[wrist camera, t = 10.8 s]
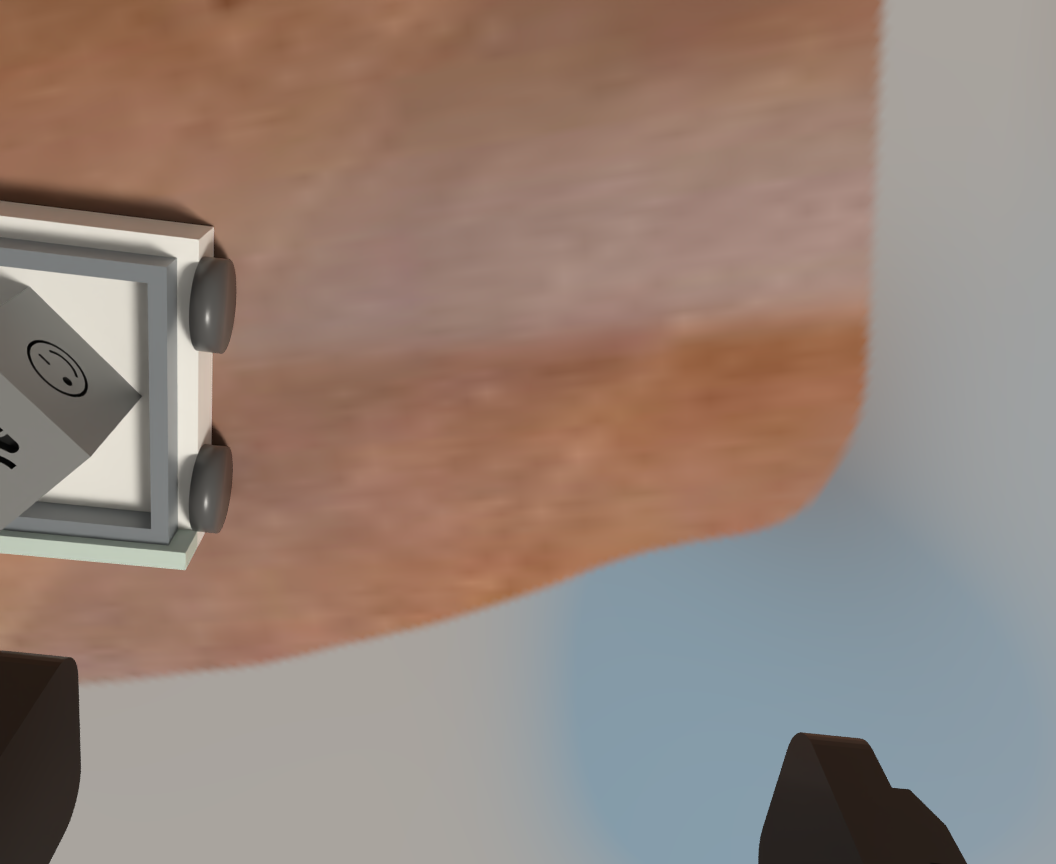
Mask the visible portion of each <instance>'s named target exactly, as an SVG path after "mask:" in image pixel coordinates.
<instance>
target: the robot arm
mask: <svg viewBox="0 0 1056 864" xmlns="http://www.w3.org/2000/svg"><path fill="white" fill-rule="evenodd" d="M79 721H80V720H79V686H78V669H77V665H76V662H75V660H74V659H73V658H71V657H62V656H52V655H42V654H32V653H22V652H12V651H0V864H49V863H50V861H51V859H52V857H53V855H54V853H55V851H56V849H57V847H58V845H59V843H60V841H61V839H62V837H63V835H64V833H65V831H66V829H67V827H68V824H69V822H70V819H71V816H72V813H73V810H74V807H75V803H76V799H77V795H78V789H79V783H80V774H81V756H80V722H79ZM758 858H759V859H758V860H759V861H758V862H759V863H758V864H967V863H966V861H965V859H964V857H963V856H962V854H961V852H960V850H959V848H958V846H957V845H956V843H955V841H954V839H953V838H952V836H951V834H950V832H949V830H948V828H947V827H946V825H944V823H943V822H942V821H941V820H940V819H939V818H938V817H937V816H936V815H935V814H934V813H933V812H932V811H931V810H930V809H929V808H928V807H926V805H925V804H923V803H922V801H921V800H920V799H919V798H917V797H916V796H915V795H914V794H913V793H912V791H910V790H909V789H898V788H892V787H891V785H890V783H889V781H888V779H887V777H886V775H885V773H884V772H883V769H882V767H881V766H880V763H879V762H878V760H877V758H876V756H875V754H874V752H873V750H872V748H871V746H870V745H869V744H868V743H867V742H866V741H865V740H863V739H860V738H850V737H841V736H830V735H820V734H811V733H801V732H800V733H797V734H796V735H795V736H794V737H793V738H792V740H791V742H790V744H789V746H788V749H787V752H786V755H785V759H784V762H783V765H782V768H781V772H780V775H779V778H778V781H777V784H776V787H775V791H774V794H773V797H772V800H771V803H770V807H769V810H768V813H767V816H766V820H765V823H764V826H763V829H762V833H761V837H760V844H759V856H758Z"/></svg>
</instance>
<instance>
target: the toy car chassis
mask: <svg viewBox="0 0 1056 864" xmlns="http://www.w3.org/2000/svg"><path fill="white" fill-rule="evenodd" d="M28 287H31V288H32V289H33V290H34V291H35V292H36V293H37V294H38V295H39V296H40V297H41V298H42V299H43V300H44V301H45V302H46V303H47V304H48V305H49V306H50V307H51V308H52V309H53V310H54V311H55V312H56V313H57V314H58V315H59V316H60V317H61V318H62V319H63V320H64V321H65V322H66V323H68V324H69V325H70V326H71V327H72V328H73V329H74V330H75V331H76V332H77V333H78V334H79V335H80V336H81V337H82V338H83V339H84V340H85V341H86V342H87V343H88V344H89V345H90V346H91V347H92V348H93V349H94V350H95V351H96V352H97V353H98V354H99V355H100V356H101V357H102V358H103V359H104V360H105V361H106V362H108V363H109V364H110V365H111V366H112V367H113V368H114V369H115V370H116V371H117V372H118V373H119V374H120V375H121V376H122V377H123V378H124V379H125V380H126V381H127V382H128V383H129V384H130V385H131V386H132V387H133V388H134V389H135V390H136V391H137V392H138V393H139V394H140V395H141V396H142V397H141V398H140V400H139V401H138V402H137V403H136V404H135V405H134V407H133V408H132V409H131V410H130V411H129V412H128V414H127V415H126V416H125V417H124V418H123V419H122V421H121V422H120V423H119V424H118V425H117V427H116V428H115V429H114V430H113V431H112V432H111V434H110V435H109V436H108V437H107V438H106V439H105V441H104V442H103V443H102V444H101V445H100V446H99V448H98V449H97V450H96V451H95V452H94V454H93V455H92V456H91V457H90V458H89V459H87V460H86V461H85V462H84V463H83V464H81V465H80V466H79V467H78V468H77V469H75V470H74V471H73V472H72V473H70V474H69V475H68V476H67V477H66V478H64V479H63V480H62V481H61V482H60V483H58V484H57V485H56V486H55V487H53V488H52V489H51V490H50V491H49V492H47V493H46V494H45V495H44V496H43V497H41V498H40V499H39V500H38V501H36V502H35V503H34V504H33V505H32V506H30V507H29V508H28V509H27V510H26V511H24V512H23V513H22V514H21V515H19V516H18V517H17V518H16V519H15V520H13V521H12V522H11V523H10V524H9V525H7V526H6V527H5V528H4V529H2V530H1V531H0V553H6V554H17V555H28V556H38V557H49V558H60V559H71V560H82V561H93V562H104V563H115V564H125V565H136V566H147V567H158V568H169V569H180V570H186V568H187V566H188V564H189V562H190V561H191V559H192V557H193V555H194V553H195V551H196V549H197V547H198V545H199V543H200V541H201V539H202V537H203V535H204V533H205V532H208V533H219V532H220V531H221V529H222V527H223V524H224V522H225V519H226V515H227V511H228V506H229V501H230V495H231V487H232V473H233V463H232V453H231V450H230V448H229V447H228V446H218V445H212V357H213V353H220V354H222V353H224V352H225V350H226V348H227V346H228V344H229V341H230V337H231V333H232V329H233V323H234V317H235V307H236V275H235V269H234V265H233V263H232V261H231V260H230V259H223V258H214V227H212V226H204V225H196V224H187V223H179V222H171V221H163V220H155V219H146V218H138V217H130V216H122V215H114V214H106V213H97V212H89V211H81V210H73V209H65V208H56V207H48V206H40V205H32V204H24V203H15V202H7V201H0V305H2V304H3V303H5V302H6V301H8V300H10V299H11V298H13V297H14V296H16V295H17V294H19V293H21V292H22V291H24V290H25V289H27V288H28Z"/></svg>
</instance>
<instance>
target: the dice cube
mask: <svg viewBox="0 0 1056 864" xmlns="http://www.w3.org/2000/svg"><path fill="white" fill-rule="evenodd" d="M141 397H142V396H141V395H140V394H139V393H138V392H137V391H136V390H135V389H134V388H133V387H132V386H131V385H130V384H129V383H128V382H127V381H126V380H125V379H124V378H123V377H122V376H121V375H120V374H119V373H118V372H117V371H116V370H115V369H114V368H113V367H112V366H111V365H110V364H109V363H108V362H106V361H105V360H104V359H103V358H102V357H101V356H100V355H99V354H98V353H97V352H96V351H95V350H94V349H93V348H92V347H91V346H90V345H89V344H88V343H87V342H86V341H85V340H84V339H83V338H82V337H81V336H80V335H79V334H78V333H77V332H76V331H75V330H74V329H73V328H72V327H71V326H70V325H69V324H68V323H66V322H65V321H64V320H63V319H62V318H61V317H60V316H59V315H58V314H57V313H56V312H55V311H54V310H53V309H52V308H51V307H50V306H49V305H48V304H47V303H46V302H45V301H44V300H43V299H42V298H41V297H40V296H39V295H38V294H37V293H36V292H35V291H34V290H33V289H32V288H31V287H28V288H27V289H25V290H24V291H22V292H21V293H19V294H17V295H16V296H14V297H13V298H11V299H10V300H8V301H6V302H5V303H3V304H2V305H0V531H1V530H2V529H4V528H5V527H6V526H7V525H9V524H10V523H11V522H12V521H13V520H15V519H16V518H17V517H18V516H19V515H21V514H22V513H23V512H24V511H26V510H27V509H28V508H29V507H30V506H32V505H33V504H34V503H35V502H36V501H38V500H39V499H40V498H41V497H43V496H44V495H45V494H46V493H47V492H49V491H50V490H51V489H52V488H53V487H55V486H56V485H57V484H58V483H60V482H61V481H62V480H63V479H64V478H66V477H67V476H68V475H69V474H70V473H72V472H73V471H74V470H75V469H77V468H78V467H79V466H80V465H81V464H83V463H84V462H85V461H86V460H87V459H89V458H90V457H91V456H92V455H93V454H94V452H95V451H96V450H97V449H98V448H99V446H100V445H101V444H102V443H103V442H104V441H105V439H106V438H107V437H108V436H109V435H110V434H111V432H112V431H113V430H114V429H115V428H116V427H117V425H118V424H119V423H120V422H121V421H122V419H123V418H124V417H125V416H126V415H127V414H128V412H129V411H130V410H131V409H132V408H133V407H134V405H135V404H136V403H137V402H138V401H139V400H140V398H141Z"/></svg>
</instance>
